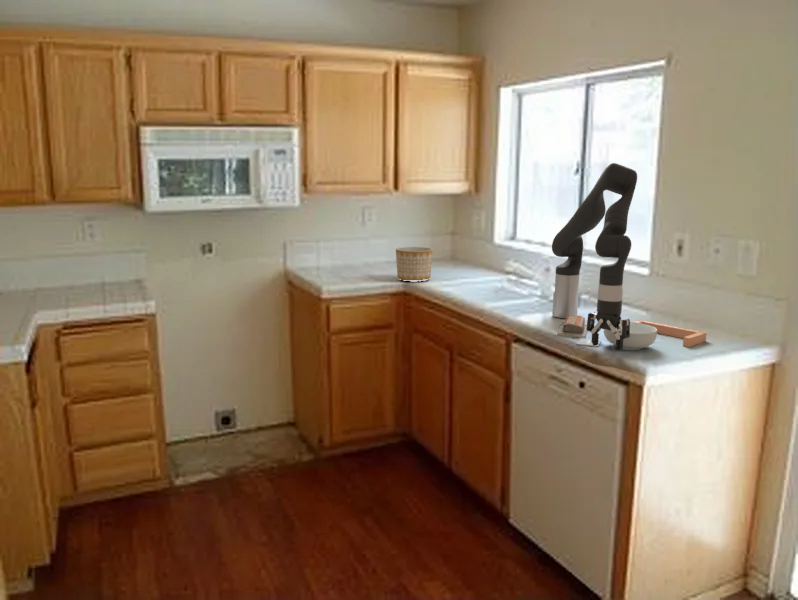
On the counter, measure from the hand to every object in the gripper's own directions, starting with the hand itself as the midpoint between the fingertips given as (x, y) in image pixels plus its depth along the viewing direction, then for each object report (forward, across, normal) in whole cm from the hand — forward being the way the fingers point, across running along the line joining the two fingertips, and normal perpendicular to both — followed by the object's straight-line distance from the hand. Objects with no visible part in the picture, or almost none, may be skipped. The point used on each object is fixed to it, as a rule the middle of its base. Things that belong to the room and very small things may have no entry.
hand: (606, 347), depth 217 cm
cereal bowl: (+2, 0, -13) cm, 13 cm away
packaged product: (+3, +26, -17) cm, 31 cm away
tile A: (+2, +11, -7) cm, 13 cm away
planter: (+3, +146, -45) cm, 153 cm away
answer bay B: (+2, 0, -35) cm, 35 cm away
